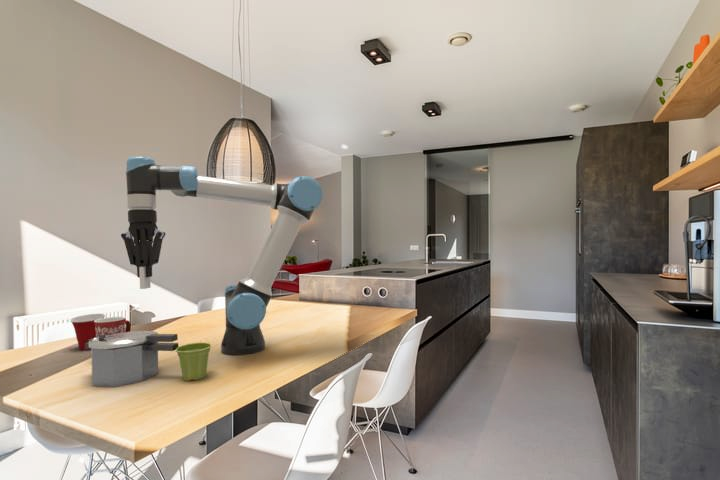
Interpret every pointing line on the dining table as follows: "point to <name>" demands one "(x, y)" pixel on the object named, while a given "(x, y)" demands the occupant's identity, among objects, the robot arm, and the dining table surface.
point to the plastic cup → (85, 328)
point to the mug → (111, 325)
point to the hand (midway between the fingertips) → (145, 288)
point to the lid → (129, 339)
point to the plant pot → (194, 360)
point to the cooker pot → (126, 363)
